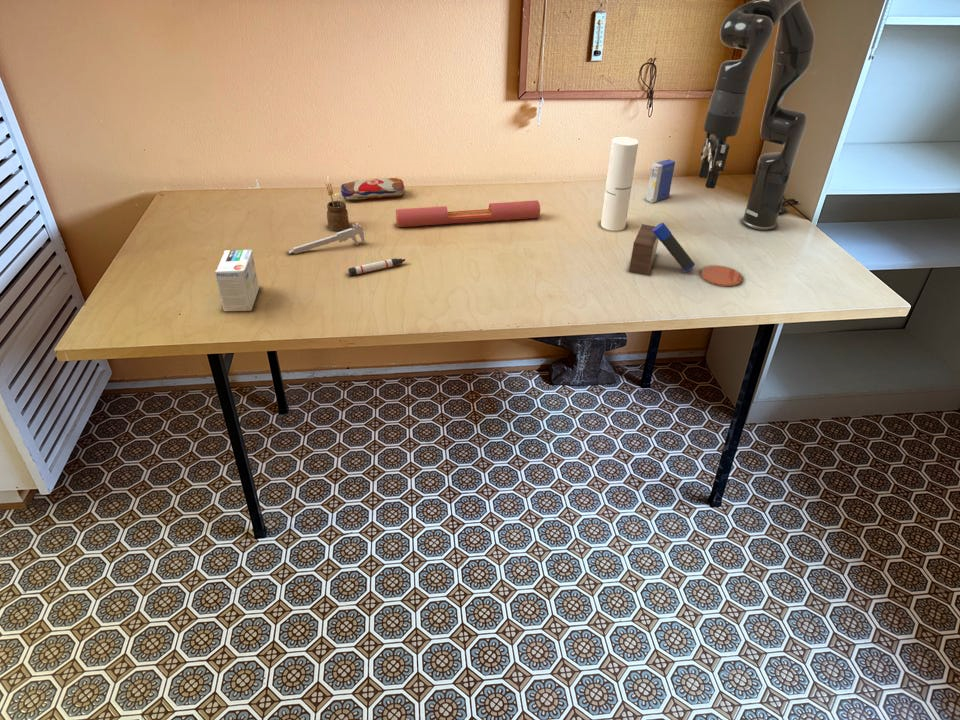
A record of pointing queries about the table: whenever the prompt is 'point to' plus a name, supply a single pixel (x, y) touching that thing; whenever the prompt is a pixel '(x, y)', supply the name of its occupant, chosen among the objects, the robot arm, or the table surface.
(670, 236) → the felt marker
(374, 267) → the marker
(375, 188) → the pencil case
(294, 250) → the caliper
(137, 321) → the table surface
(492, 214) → the blood vessel
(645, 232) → the walnut block
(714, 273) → the coaster
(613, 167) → the cylindrical container
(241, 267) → the light bulb box
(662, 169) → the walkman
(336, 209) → the utensil holder
